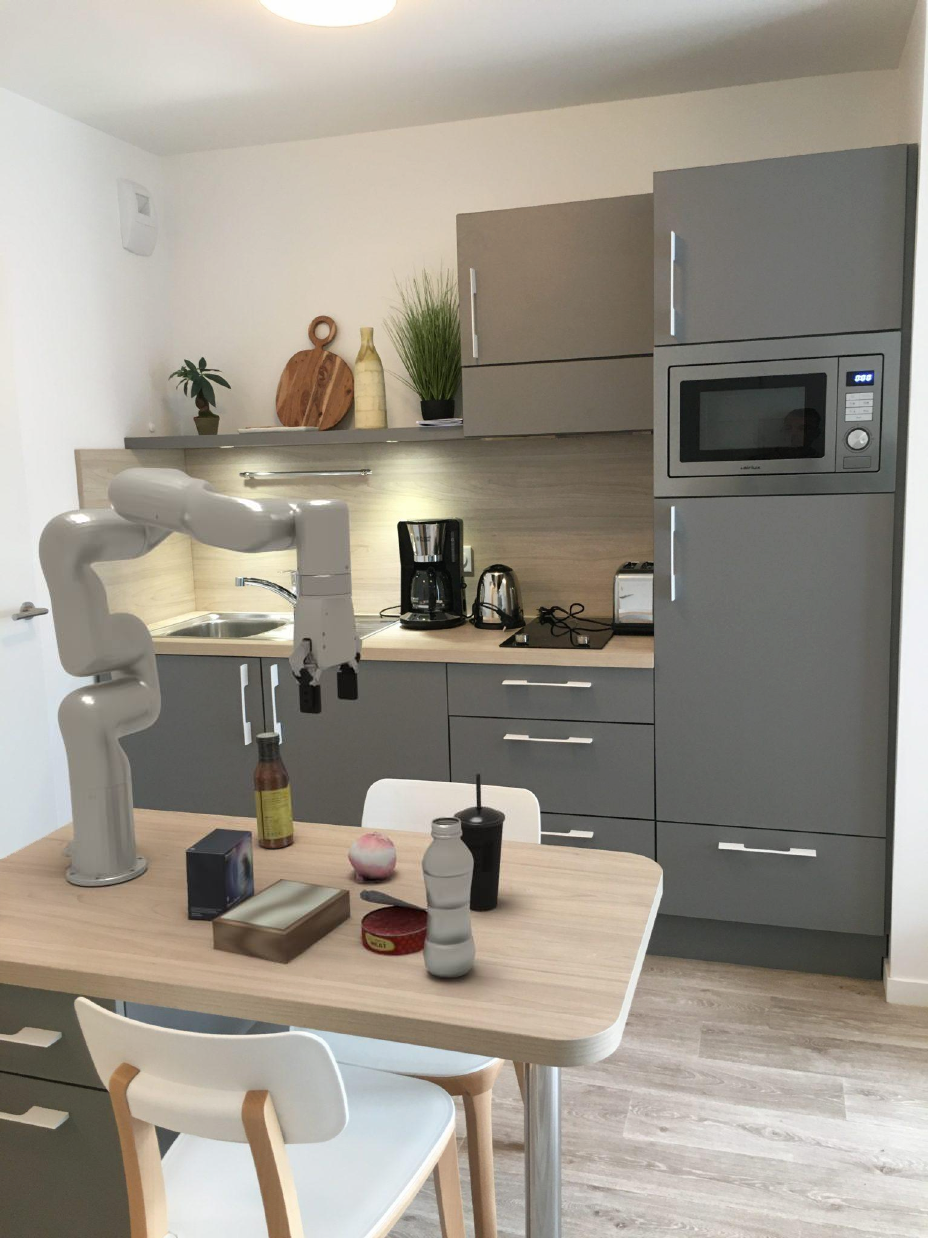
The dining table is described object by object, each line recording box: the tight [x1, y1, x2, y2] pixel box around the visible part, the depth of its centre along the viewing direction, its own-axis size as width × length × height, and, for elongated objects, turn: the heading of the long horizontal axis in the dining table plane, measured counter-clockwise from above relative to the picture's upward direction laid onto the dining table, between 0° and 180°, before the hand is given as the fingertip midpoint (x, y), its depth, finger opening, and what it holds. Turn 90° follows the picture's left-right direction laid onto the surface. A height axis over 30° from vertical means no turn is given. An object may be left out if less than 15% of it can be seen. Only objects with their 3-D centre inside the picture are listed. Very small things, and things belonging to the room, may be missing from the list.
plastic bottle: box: [421, 816, 476, 978], centre depth 127 cm, size 6×7×20 cm
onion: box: [347, 831, 397, 884], centre depth 161 cm, size 8×8×7 cm
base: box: [211, 878, 352, 964], centre depth 141 cm, size 12×16×4 cm
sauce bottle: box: [253, 731, 295, 849], centre depth 177 cm, size 7×6×20 cm
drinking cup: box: [453, 773, 506, 912], centre depth 148 cm, size 8×8×20 cm
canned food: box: [359, 888, 428, 957], centre depth 138 cm, size 11×10×10 cm
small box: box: [185, 828, 255, 921], centre depth 151 cm, size 11×6×10 cm, turn 168°
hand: (329, 705), depth 143 cm, fingers open, 9 cm apart
